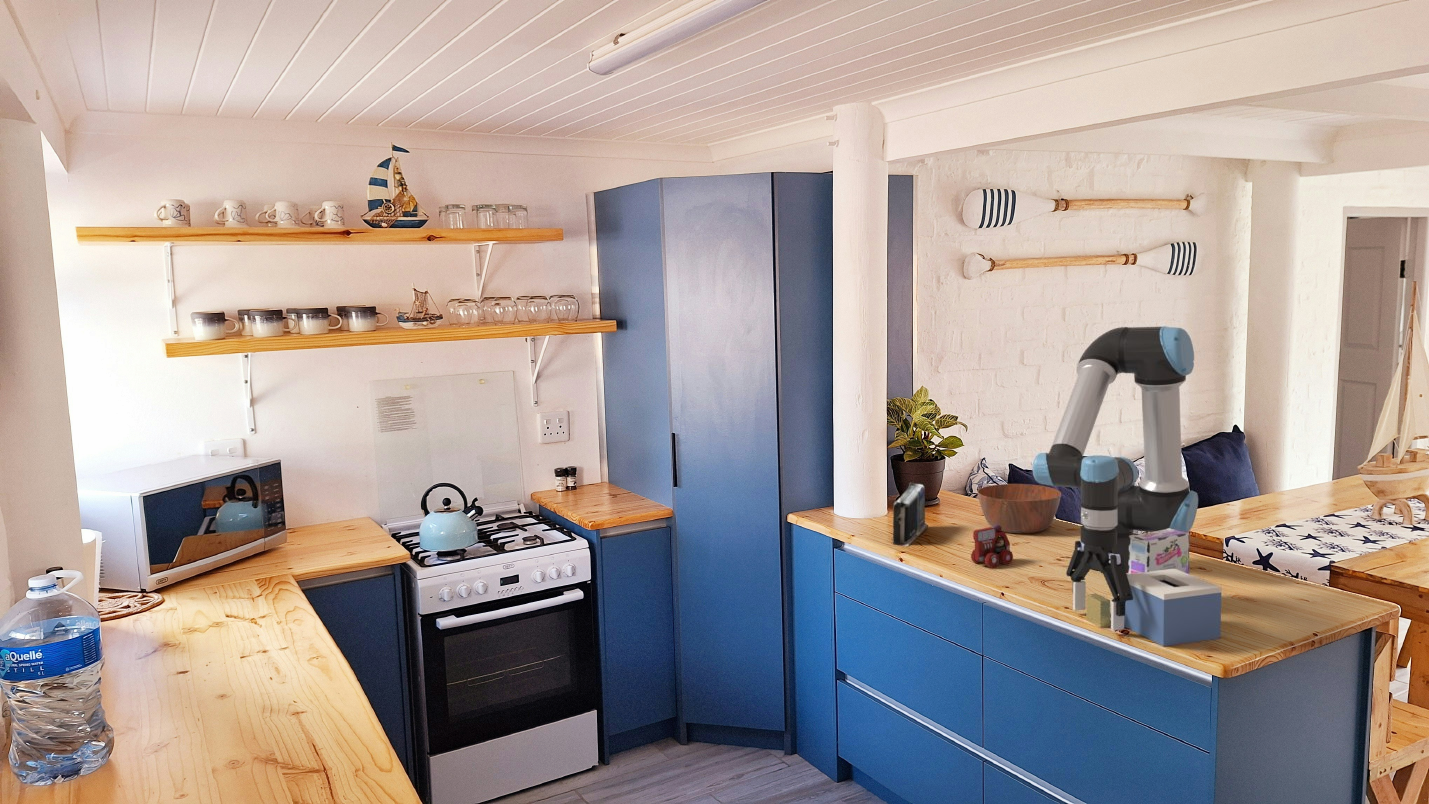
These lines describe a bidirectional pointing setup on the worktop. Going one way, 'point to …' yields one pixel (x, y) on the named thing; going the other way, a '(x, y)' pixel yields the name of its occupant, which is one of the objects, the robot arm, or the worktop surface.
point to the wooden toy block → (1098, 610)
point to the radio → (909, 515)
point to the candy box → (1159, 551)
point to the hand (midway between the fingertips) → (1097, 619)
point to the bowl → (1019, 507)
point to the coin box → (1173, 607)
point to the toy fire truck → (991, 547)
